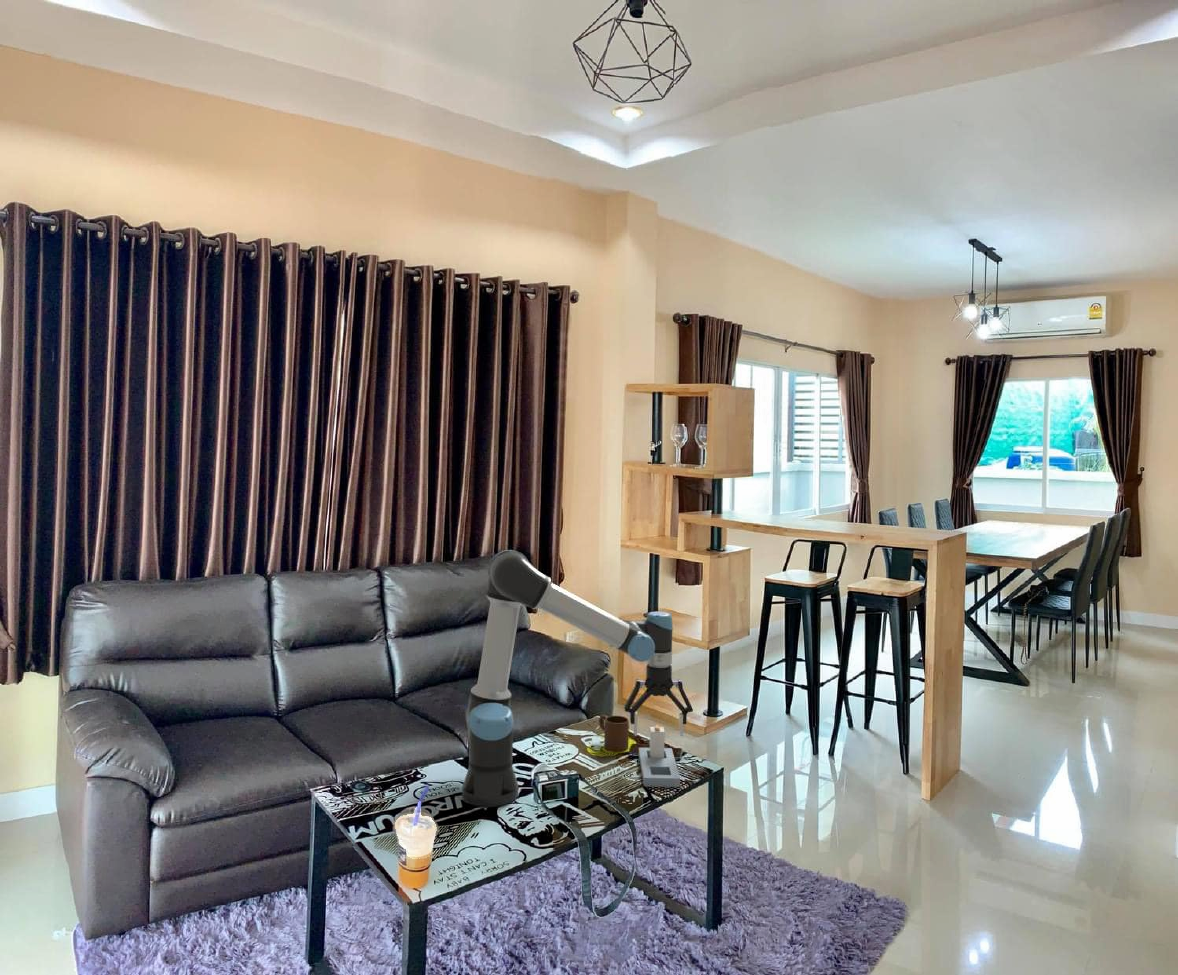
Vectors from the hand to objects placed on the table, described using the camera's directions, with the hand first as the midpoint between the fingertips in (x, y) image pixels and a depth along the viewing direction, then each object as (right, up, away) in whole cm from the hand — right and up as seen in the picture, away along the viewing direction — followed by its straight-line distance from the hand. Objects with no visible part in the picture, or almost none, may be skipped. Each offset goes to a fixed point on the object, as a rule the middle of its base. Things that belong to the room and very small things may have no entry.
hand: (658, 734), depth 241 cm
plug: (0, -8, 0) cm, 8 cm away
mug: (-14, -8, +13) cm, 21 cm away
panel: (0, -9, -6) cm, 11 cm away
